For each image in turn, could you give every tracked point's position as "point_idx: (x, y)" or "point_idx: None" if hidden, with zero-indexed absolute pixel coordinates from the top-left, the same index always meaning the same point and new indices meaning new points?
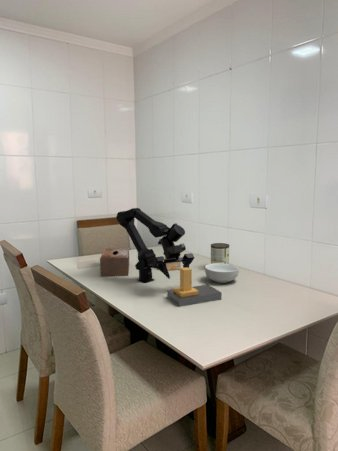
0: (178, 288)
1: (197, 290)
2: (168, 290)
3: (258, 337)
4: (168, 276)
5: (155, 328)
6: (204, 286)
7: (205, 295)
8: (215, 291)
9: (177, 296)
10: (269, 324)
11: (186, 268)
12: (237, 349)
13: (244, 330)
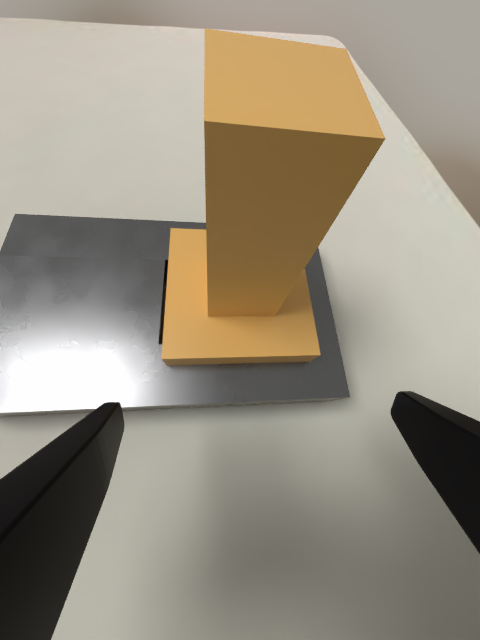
0: (285, 326)
1: (173, 236)
2: (340, 393)
3: (175, 35)
4: (428, 401)
5: (413, 153)
6: (13, 370)
7: (143, 221)
8: (35, 241)
9: (309, 264)
10: (88, 50)
11: (266, 84)
12: (252, 33)
13: (182, 60)
